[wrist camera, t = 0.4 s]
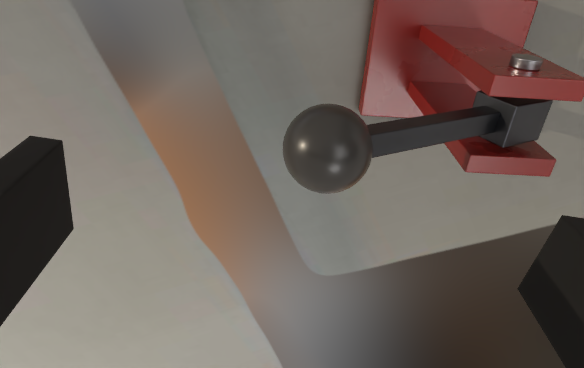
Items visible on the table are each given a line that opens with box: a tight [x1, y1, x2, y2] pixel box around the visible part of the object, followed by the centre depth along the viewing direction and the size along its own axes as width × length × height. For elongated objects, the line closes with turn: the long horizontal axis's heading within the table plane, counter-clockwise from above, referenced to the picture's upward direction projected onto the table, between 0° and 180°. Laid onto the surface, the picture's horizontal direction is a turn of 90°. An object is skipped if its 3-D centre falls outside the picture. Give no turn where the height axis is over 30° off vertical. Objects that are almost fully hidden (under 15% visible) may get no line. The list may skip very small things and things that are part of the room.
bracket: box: [359, 0, 584, 177], centre depth 26 cm, size 11×9×14 cm
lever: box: [283, 90, 553, 194], centre depth 19 cm, size 14×4×4 cm, turn 86°
